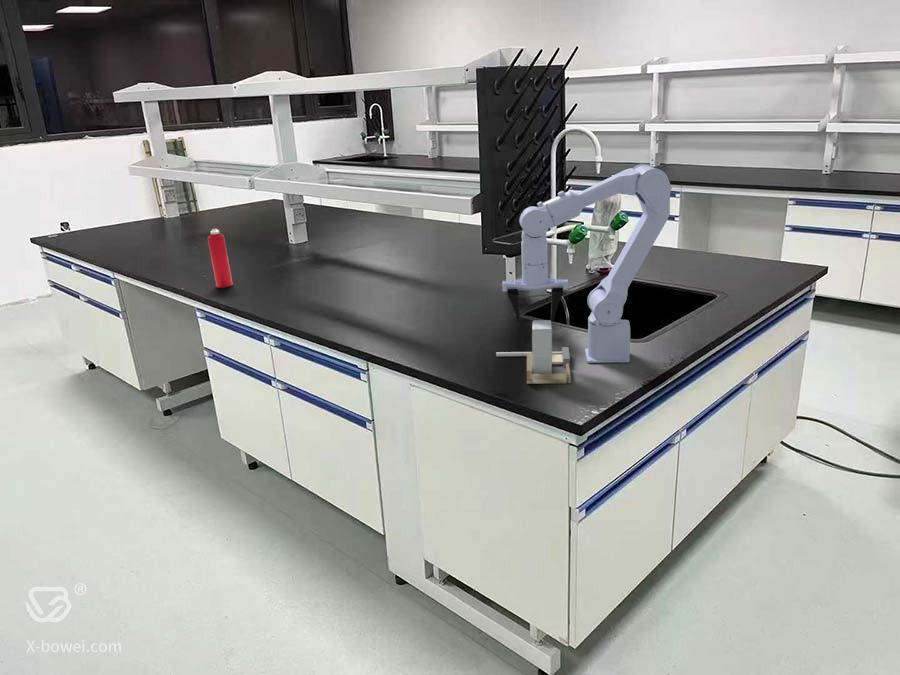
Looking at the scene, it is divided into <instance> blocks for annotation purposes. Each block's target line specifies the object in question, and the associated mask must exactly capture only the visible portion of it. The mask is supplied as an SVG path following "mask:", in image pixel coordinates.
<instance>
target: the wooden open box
mask: <svg viewBox="0 0 900 675" xmlns="http://www.w3.org/2000/svg"><path fill="white" fill-rule="evenodd" d="M552 365H563V358H562V354H559V355H552ZM565 369H566V373H552V374H533V372H532V353H527V356H526V384H527V385H528V384H571V381H572V379H571V368H570V367H569V364H566V367H565Z"/></svg>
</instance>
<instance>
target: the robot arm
mask: <svg viewBox="0 0 900 675" xmlns="http://www.w3.org/2000/svg"><path fill="white" fill-rule="evenodd" d="M672 188H673V187H672V185H671V183H670V180H669V177H668V176H667V174H666V172H664V171H663V170H662V169H660V168H655V167H653V166H652V165H651V164H649V163H648V164H647V163H640V164H637V165H636V166H634V167H630V168H627V169H624V170H621V171H619V172H618V173H615V174H614V175H612V176H610V177H608V178H606V179H603V180H602V181H600V182H598V183H596V184H594V185H592V186H590V187H588V188H586V189H584V190H582V191H580V192H578V193H575V192H573V191H570V190H569V191H566V192H565V191H564V190H561V191H558V193H557V196H555V197H552V198H550V199H548V200H546V201H544V202H542V201H539V202H537V203H536V204H537V206H534V205H533V206H528V207H526V208H525V209H524V210H523V211H522V212H521V214H520V216H519V219H518V222H519V225H520V227H521V228H522V230H521V244H520V245H521V246H520V249H521V278H520V279H513V280H502V284H501V286H502V293H503V292H507V298H508V300H509V301H510V304H511V306H512V308H513V310H514V313H515V317H516V323H520V322H521V311H520V291H535V290H536V291H545V290H546V291H547V290H550V291H551V296H550V297H551V304H550V305H551V306H550V320H551V322H555V318H556V313H557V309H558V307H559V304H560V302H561V299H562V298H563V296H564V291H569V281H568V278H566V279H564V278H563V279H560V278H548V277H549V276H548V273H549V269H548V266H549V264H548V262H549V261H548V240H547V233H548V231H549V229H550V228H552V229H553V228H555V227H557V226H560V225H561V224H564V223H566V222H568V221H571V220H573V219H575V218H576V217H579V216H580V215H581V213H582V211H583V209H584V208H586V207H588V206H591V205H593V204H596V203H598V202H600V201H603V200H606V199H608V198H611V197H613V196H617V195H619V194H620V195H628V196H633V197H635V196H636V198H638V201H639V205H640V208H641V210H642V214H641V216H640V218H639V220H638V222H637V224H636V225H635V226H634V229H632V230H633V231H632V232H631V234H630V236H629V238H628V239H627V241H626V243H625V244H624V246H623V248H622V250H621V252H620V254H619V255H618V257H617V259H616V260H615V263H614V264H613V266H612V268H611V269H610V271H609V273H608V275H607V276H606V277H604V278H603V279H601V281H600V282H599V284H598V285H597V286H596V287H595V288H594V289H593V290H591V291H590V292H589V294H588V295H587V299H586V300H587V306H588V308H589V309H590V311H591V312H590V315H589V316H588V318H587V326H588V327H587V348H584V353H585V358H586V362H587V363H589V364H593V363H594V364H596V363H600V364H601V363H602V364H603V363H605V364H606V363H607V364H609V363H630V361H631V359H630V351H631V325H630V324H631V323H630V321H629V320H628V319H621V318H622V316H623V313H624V306H625V303H626V301H627V299H628V298H627V297H628V290H629V287H630V285H631V283H632V282H633V280H634V278H635V276H636V274H637V273H638V272H639V269H640V268H641V266H642V264H643V262H644V261H645V259H646V257H647V256H648V255H649V252H650V251H651V249H652V247H653V245H654V244H655V243H656V241H657V238H658V237H659V236H660V233H661V232H662V230H663V228H664V226H665V224H666V223H667V221H668V219H669V217H670V214H671V192H672Z"/></svg>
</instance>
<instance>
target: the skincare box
mask: <svg viewBox="0 0 900 675" xmlns="http://www.w3.org/2000/svg"><path fill="white" fill-rule="evenodd" d="M531 324H532V325H531V326H532V327H531V328H532V329H531V330H532V332H531V333H532V334H531V344H532V345H531V349H532V350H531V352H532V372H533V374H553V364H552V352H553V327H552V321H551V319H549V320H548V319H545V320H541V319H539V320H536V319H535V320H532V323H531Z"/></svg>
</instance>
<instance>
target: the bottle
mask: <svg viewBox="0 0 900 675" xmlns="http://www.w3.org/2000/svg"><path fill="white" fill-rule="evenodd" d="M209 233H210V235H209V236H207V243H208V248H209V254H210V258H211V259H210V260H211V264H212V270H213V276H214V280H215V287H216V288H218V289H219V288H220V289H222V288H223V289H224V288H229V287H232V286H233V285H234V282H233V278H232V272H231V267H230V263H229V262H230V261H229V256H228V250H227V245H226V239H225V236H224V234H222V233H220V230H219V229H217V228H212V229H211V231H209Z"/></svg>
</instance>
